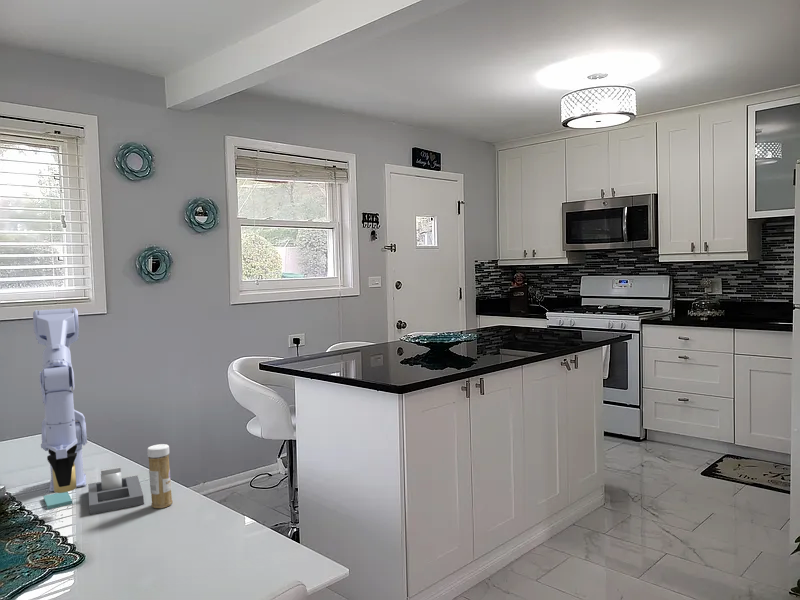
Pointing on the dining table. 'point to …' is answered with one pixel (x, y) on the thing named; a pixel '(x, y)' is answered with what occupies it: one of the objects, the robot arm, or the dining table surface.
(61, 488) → the beige cylinder with tab
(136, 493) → the housing
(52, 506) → the lid plate
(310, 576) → the dining table surface
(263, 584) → the dining table surface
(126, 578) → the dining table surface
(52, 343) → the robot arm
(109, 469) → the grey knob with ridge
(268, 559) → the dining table surface
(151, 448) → the spice jar
